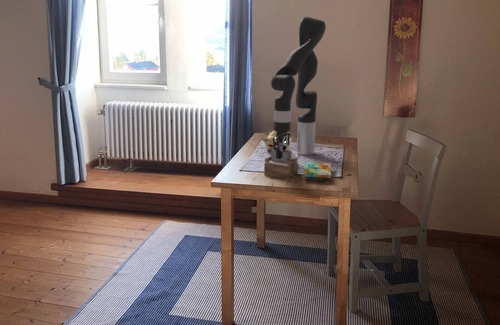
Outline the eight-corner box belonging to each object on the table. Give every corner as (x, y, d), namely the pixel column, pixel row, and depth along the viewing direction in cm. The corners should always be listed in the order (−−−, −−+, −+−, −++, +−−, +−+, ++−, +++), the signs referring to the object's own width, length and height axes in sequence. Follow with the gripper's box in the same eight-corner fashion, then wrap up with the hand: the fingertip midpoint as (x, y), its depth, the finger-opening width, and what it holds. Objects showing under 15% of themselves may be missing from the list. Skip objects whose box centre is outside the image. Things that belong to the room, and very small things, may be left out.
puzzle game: (330, 161, 224) (331, 173, 205) (330, 171, 226) (330, 183, 206) (305, 160, 226) (303, 171, 207) (305, 169, 227) (303, 182, 208)
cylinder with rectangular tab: (294, 166, 231) (295, 142, 228) (275, 165, 233) (276, 141, 230) (296, 162, 240) (297, 138, 236) (278, 161, 241) (279, 137, 238)
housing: (291, 161, 218) (291, 148, 217) (287, 163, 214) (287, 150, 213) (275, 158, 222) (275, 146, 220) (271, 161, 218) (271, 148, 216)
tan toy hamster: (261, 152, 259) (261, 132, 256) (267, 147, 270) (267, 128, 267) (278, 153, 256) (279, 134, 253) (284, 148, 267) (284, 129, 264)
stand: (273, 169, 226) (274, 153, 224) (297, 172, 221) (297, 157, 219) (264, 174, 218) (264, 158, 216) (288, 178, 212) (288, 162, 210)
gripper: (283, 123, 205) (282, 161, 210) (296, 118, 217) (295, 154, 222) (267, 122, 209) (266, 159, 213) (281, 117, 221) (280, 152, 225)
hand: (281, 157), depth 217 cm, fingers open, 5 cm apart
